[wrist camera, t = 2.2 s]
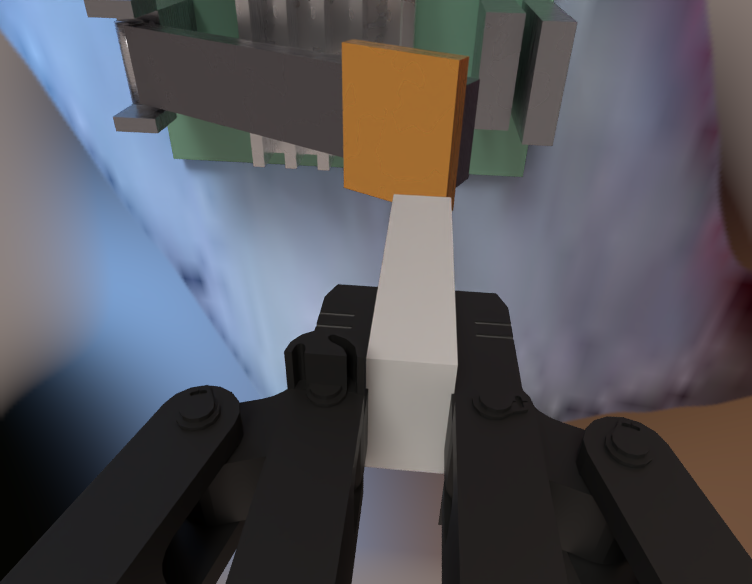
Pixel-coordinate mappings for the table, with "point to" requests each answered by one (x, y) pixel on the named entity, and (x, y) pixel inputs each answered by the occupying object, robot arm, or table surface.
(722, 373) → the table surface
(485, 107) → the lug
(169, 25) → the forked tab bracket
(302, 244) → the table surface
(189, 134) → the board
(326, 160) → the heatsink
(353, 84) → the strap
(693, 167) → the table surface
